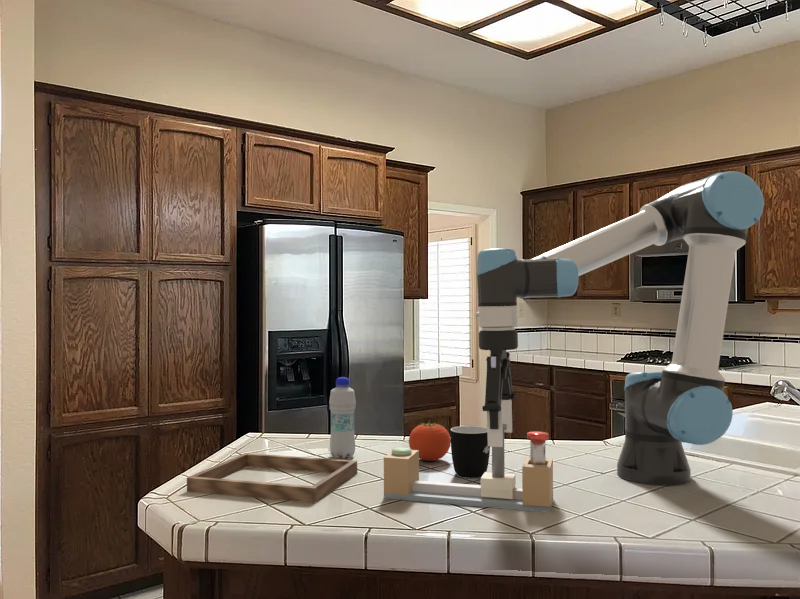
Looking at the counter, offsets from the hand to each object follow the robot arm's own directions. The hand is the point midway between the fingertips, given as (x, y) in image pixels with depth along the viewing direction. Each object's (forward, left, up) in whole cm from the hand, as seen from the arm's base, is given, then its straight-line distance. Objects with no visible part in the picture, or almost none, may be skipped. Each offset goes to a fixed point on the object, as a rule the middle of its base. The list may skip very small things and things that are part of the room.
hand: (500, 439), depth 128 cm
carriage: (0, 0, -11) cm, 11 cm away
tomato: (+21, -29, -12) cm, 38 cm away
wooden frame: (+48, -1, -12) cm, 50 cm away
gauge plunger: (-7, 0, -8) cm, 10 cm away
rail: (+6, 0, -12) cm, 14 cm away
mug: (+9, -20, -12) cm, 25 cm away
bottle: (+43, -27, -12) cm, 53 cm away
